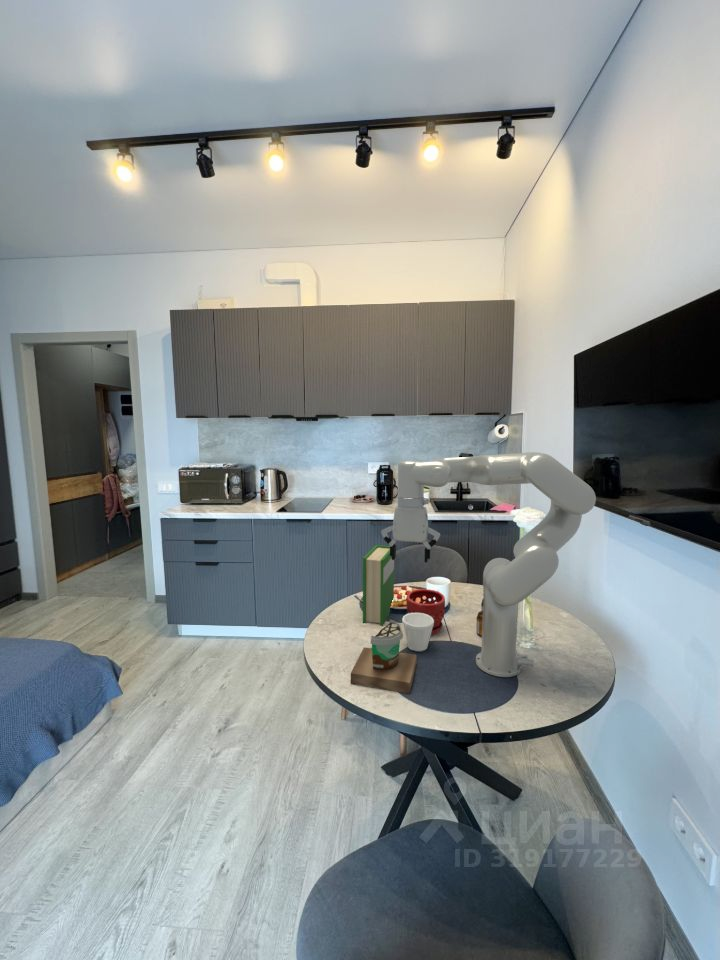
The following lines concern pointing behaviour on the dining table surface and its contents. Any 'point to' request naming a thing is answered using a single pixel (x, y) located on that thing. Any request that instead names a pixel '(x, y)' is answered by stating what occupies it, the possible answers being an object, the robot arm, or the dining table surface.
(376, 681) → the walnut base
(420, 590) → the plant pot
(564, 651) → the dining table surface
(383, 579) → the hardback book
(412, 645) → the cup
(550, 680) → the dining table surface
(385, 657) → the food container
